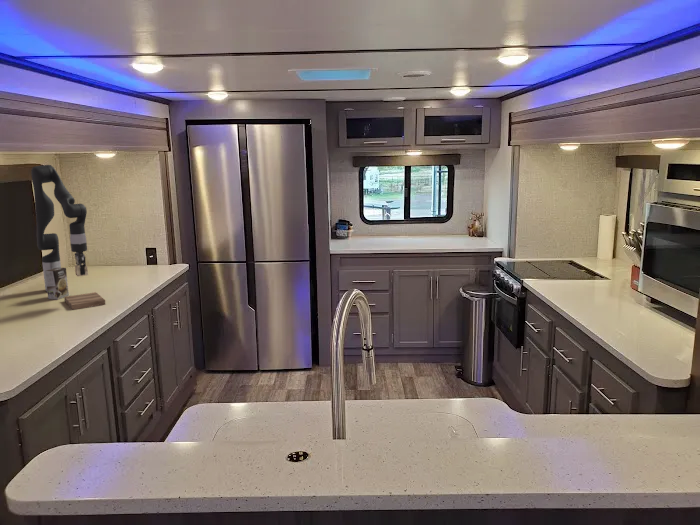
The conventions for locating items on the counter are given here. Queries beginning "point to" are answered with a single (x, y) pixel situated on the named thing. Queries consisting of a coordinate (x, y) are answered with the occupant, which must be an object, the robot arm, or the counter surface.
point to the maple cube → (77, 270)
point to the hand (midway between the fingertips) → (81, 273)
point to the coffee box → (57, 283)
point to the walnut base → (84, 300)
